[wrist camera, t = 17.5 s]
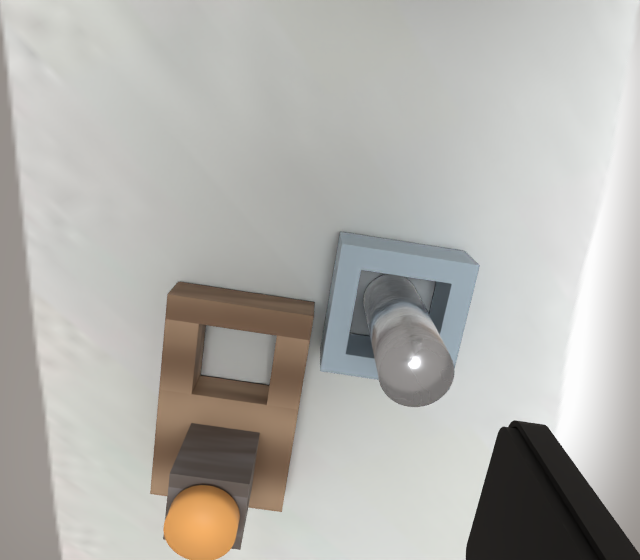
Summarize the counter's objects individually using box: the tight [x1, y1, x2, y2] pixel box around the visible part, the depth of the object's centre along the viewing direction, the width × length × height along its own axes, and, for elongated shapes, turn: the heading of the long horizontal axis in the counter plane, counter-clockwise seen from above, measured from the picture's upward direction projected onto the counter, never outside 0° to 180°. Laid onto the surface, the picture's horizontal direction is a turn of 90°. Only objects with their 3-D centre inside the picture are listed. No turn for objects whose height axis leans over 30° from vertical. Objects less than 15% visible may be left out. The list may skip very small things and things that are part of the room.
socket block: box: [150, 282, 314, 550], centre depth 39 cm, size 16×10×9 cm, turn 171°
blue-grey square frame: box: [320, 232, 480, 390], centre depth 39 cm, size 9×9×4 cm
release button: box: [164, 485, 240, 560], centre depth 38 cm, size 4×4×8 cm
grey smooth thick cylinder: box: [363, 274, 454, 407], centre depth 36 cm, size 4×4×12 cm
